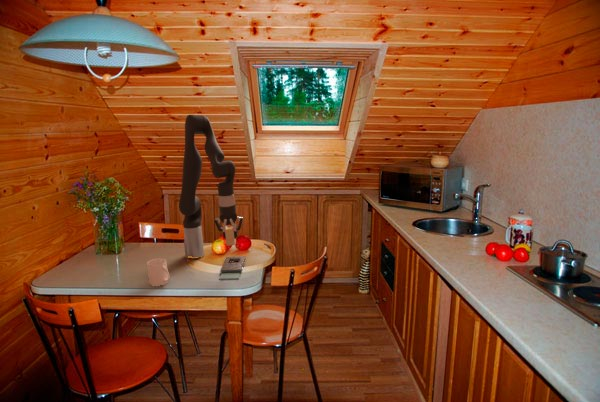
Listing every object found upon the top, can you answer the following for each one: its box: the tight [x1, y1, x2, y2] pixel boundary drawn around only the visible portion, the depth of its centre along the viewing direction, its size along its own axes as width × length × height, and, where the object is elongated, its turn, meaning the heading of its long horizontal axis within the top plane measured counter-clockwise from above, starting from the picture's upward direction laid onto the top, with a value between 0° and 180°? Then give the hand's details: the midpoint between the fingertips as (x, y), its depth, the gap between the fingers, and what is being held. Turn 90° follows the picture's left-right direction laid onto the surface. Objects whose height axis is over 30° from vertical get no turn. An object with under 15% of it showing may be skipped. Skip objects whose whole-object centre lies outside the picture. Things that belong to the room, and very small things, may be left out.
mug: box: [146, 257, 170, 287], centre depth 196 cm, size 9×12×11 cm
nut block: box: [225, 226, 237, 246], centre depth 201 cm, size 4×4×8 cm
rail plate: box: [220, 255, 247, 275], centre depth 213 cm, size 10×16×2 cm, turn 179°
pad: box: [219, 273, 241, 281], centre depth 202 cm, size 9×6×1 cm, turn 90°
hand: (230, 238), depth 201 cm, fingers closed on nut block, 4 cm apart
